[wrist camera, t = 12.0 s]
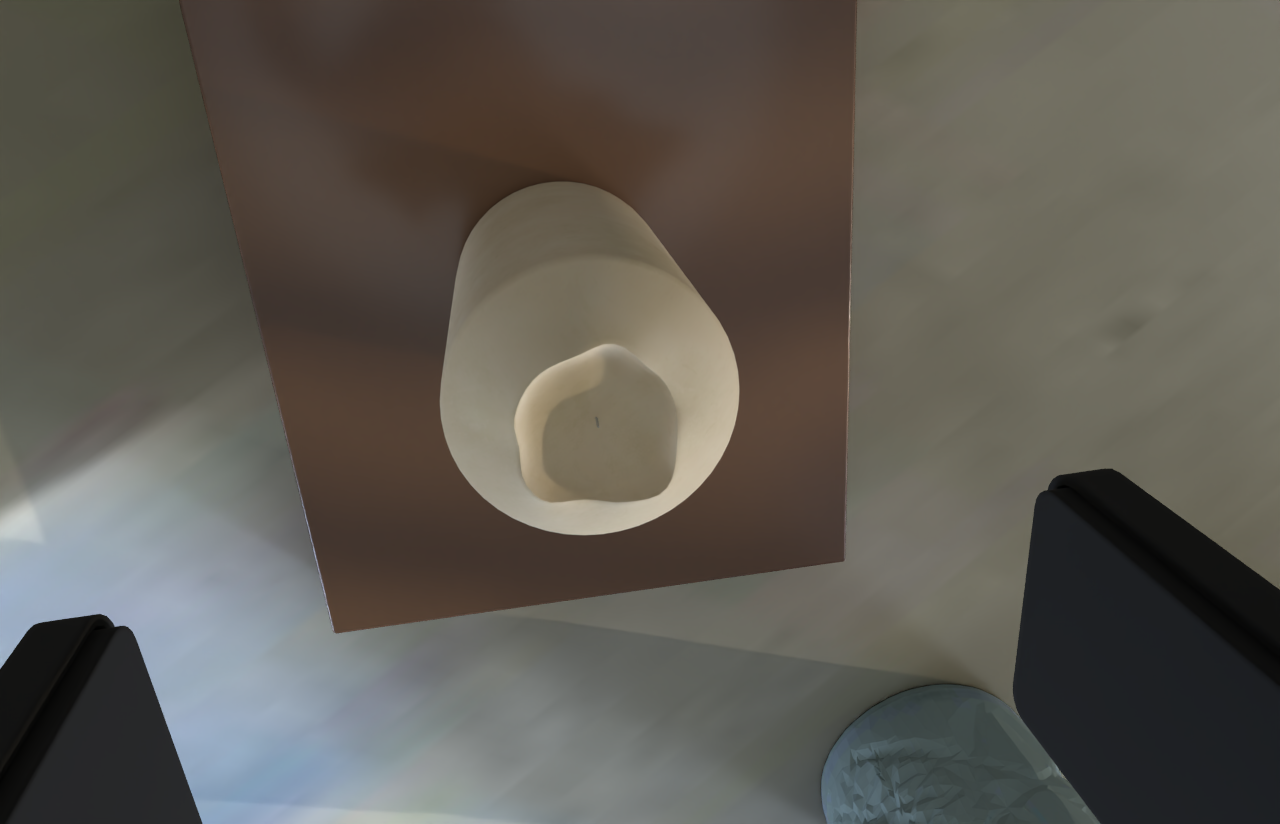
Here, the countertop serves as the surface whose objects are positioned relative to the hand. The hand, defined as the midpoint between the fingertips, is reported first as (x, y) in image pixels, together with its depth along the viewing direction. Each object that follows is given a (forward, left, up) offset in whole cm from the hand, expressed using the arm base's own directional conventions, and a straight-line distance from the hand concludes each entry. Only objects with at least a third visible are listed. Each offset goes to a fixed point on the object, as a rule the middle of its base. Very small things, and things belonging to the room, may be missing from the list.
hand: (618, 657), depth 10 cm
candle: (0, 0, -17) cm, 17 cm away
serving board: (0, +1, -19) cm, 19 cm away
